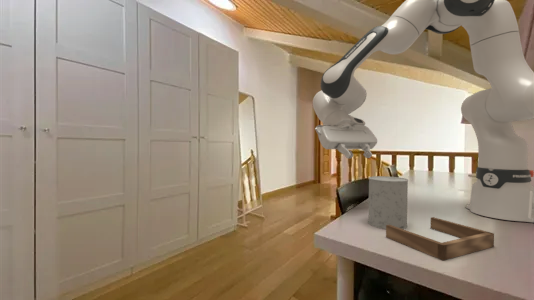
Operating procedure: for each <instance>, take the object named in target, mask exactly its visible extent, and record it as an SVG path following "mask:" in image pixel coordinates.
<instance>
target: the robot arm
mask: <svg viewBox="0 0 534 300" xmlns="http://www.w3.org/2000/svg"><path fill="white" fill-rule="evenodd" d="M461 27H463V29H464V30H465V31H466V32H467V35H468V39H469V48H470V55H471V60H472V65H473V70H474V72H475V73H476V74H478V75H480V76H483V77H485V79H487V81H488V83H489V84H490V88H486V89H483V90H479V91H477V92H475V93H473V94H471V95H469V96H467V97H466V98H465V99H464V100H463V102H462V103H461V107H460V112H461V115H462V117H463V118H464V119H465V120H466V121H467V122H469V124H470V125H471V127H472V129H473V130H474V133H475V137H476V140H477V146H478V149H477V151H478V152H477V153H478V163H477V164H478V166H477V167H476V169H475V174H476V175H475V178H476V179H477V180H476V181H475V182H474V183H472V184H471V188H470V189H471V190H470V199H469V204H465V208H466V209H468V210H469V211H470V212H471V213H473V214H476V215H479V216H484V217H486V218H487V217H488V218H491V219H492V218H493V219H497V220H498V219H499V220H505V221H513V222H514V221H515V222H525V223H526V222H527V223H534V186H533V185H532V183H531V182H532V178H533V177H534V170H532V169H529V168H528V166H529V164H528V163H529V162H528V160H529V144H528V141H527V140H526V139H525V138H523V137H522V136H520V135H518V134H517V133H516V130H515V129H514V127H513V122H521V121H529V120H530V121H531V120H534V71H533V69H531V67H530V65H529V64H528V62H527V60H526V58H525V55H524V51H523V46H522V42H521V37H520V35H521V34H520V28H519V25H518V20H517V17H516V14H515V12H514V9H513V7H512V4H511V3H510V2H509V1H508V0H404V2H402V3H401V4H400V6H398V7H397V9H395V10H394V12H393V13H392V14H391V15H390V17H389V18H388V19H387V20H386V21H385V22H384V23H383V24H382V25H377V26H374V27H373V28H371V29H369V31H367V32H366V34H364V35H363V36H362V37H361V38H360V39H359V40H358V41H356V42H355V44H354V45H353V46H352V47H351V48H350V49H349V50H347V52H346V53H345V54H344V55H343V56H342V57H341V58H340V59H339V60H337V61H336V62H335V63H334V64H333V65H331V66H330V67H328V68H327V69H326V70H325V71H324V72H323V74H322V76H321V79H320V91H318V92H316V94H315V95H314V97H312V108H313V110H314V113H315V115H316V117H317V118H318V119H319V121H320V122H322V124H318V125H316V126H315V128H314V131H316V134H317V136H318V140H319V142H320V145H321V146H322V148H323V149H325V150H337V151H338V152H339V153H340V154H342V155H344V156H345V158H346V159H352V158H353V156H354V153H353V151H351V150H362V151H364V153H363V154H362V155H363V156H364V158H365V159H370V158H371V157H372V156H373V153H372V151H371V150H373V149H374V147H375V146H376V145H377V144H378V139H377V136H376V135H375V134H374V133H373V131H372V130H371V129H370V128H369V127H368V126H366V122H365V121H364V119H361V118H357V117H356V116H353V115H350V114H351V113H353V112H355V111H356V110H357V109H359V108H360V107H362V105H363V104H364V103H365V101H366V100H367V90H366V89H365V88H364V86H363V85H362V84H361V83H360V82H359V81H358V79H356V77H355V76H354V75H355V71H357V69H358V68H359V67H361V65H362V64H363V63H364V62H365V61H366V60H368V58H369V57H370V56H371V55H372V54H374V53H375V52H379V51H380V52H382V53H385V54H388V55H400V54H403V53H404V52H406V51H407V50H408V49H409V48H411V47H412V46H413V44H414V43H416V41H417V39H418V38H419V37H420V36H421V35H422V33H423V32H424V31H425V30H427V31H431V32H433V33H435V34H438V35H445V34H451V33H452V32H454V31H456V30H457V29H459V28H461Z"/></svg>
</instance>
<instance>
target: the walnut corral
mask: <svg viewBox="0 0 534 300" xmlns="http://www.w3.org/2000/svg"><path fill="white" fill-rule="evenodd" d="M431 228H432V229H431ZM430 229H431V230H434V229H435V230H434V231H438V232H440V233H443V234H447V235H450V236H453V237H457V239H453V240H448V241H443V242H440V241H438V240H435V239H431V238H429V237H427V236H423V235H420V234H417V233H414V232H412V231H409V230H406V229H401V228H398V227H395V226H392V225H386V229H385V237H386V238H388V239H390V240H392V241H395V242H397V243H399V244H402V245H405V246H407V247H409V248H412V249H415V250H417V251H419V252H422V253H424V254H426V255H429V256H431V257H434V258H437V259H439V260H441V261H445V260H449V259H453V258H457V257H461V256H465V255H468V254H471V253H477V252H479V251H483V250H486V249H487V250H488V249H491V248H494V247H495V233H494V232H490V231H486V230H482V229H479V228H474V227H471V226H469V225H463V224H461V223H456V222H453V221H450V220H447V219H446V220H445V219H441V218H439V217H435V216H433V217H430Z"/></svg>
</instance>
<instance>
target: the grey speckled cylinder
mask: <svg viewBox="0 0 534 300" xmlns="http://www.w3.org/2000/svg"><path fill="white" fill-rule="evenodd" d="M408 182H409V179H407V178H405V177H398V176H397V177H396V176H385V175H383V176H382V175H377V176H369V177H368V221H367V223H368V224H369V225H370V226H372V227H374V228H378V229H382V230H386V225H392V226H395V227H398V228H401V229H404V230H406V229H407V228H408V190H409V189H408V187H409V185H408Z"/></svg>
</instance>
